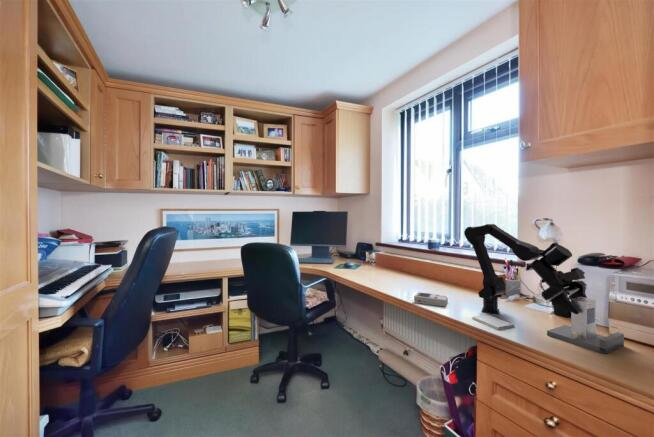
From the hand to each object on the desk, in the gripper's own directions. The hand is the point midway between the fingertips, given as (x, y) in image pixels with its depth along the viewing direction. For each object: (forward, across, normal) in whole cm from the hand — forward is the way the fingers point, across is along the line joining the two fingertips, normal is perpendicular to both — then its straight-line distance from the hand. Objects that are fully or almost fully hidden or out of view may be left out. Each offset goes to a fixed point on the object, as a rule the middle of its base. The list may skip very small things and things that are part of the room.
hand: (585, 311), depth 96 cm
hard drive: (-10, -12, +25) cm, 30 cm away
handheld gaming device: (-32, -13, +47) cm, 59 cm away
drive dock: (+7, 0, +7) cm, 10 cm away
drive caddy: (+6, 0, +6) cm, 8 cm away
